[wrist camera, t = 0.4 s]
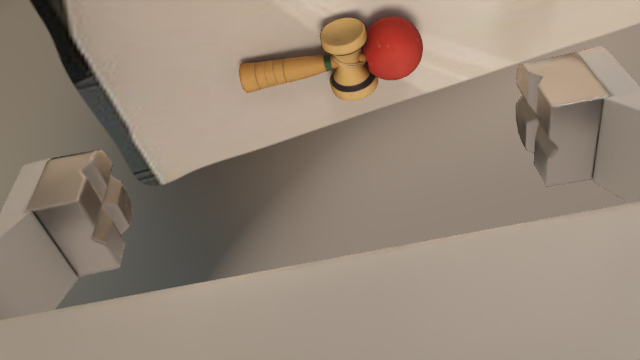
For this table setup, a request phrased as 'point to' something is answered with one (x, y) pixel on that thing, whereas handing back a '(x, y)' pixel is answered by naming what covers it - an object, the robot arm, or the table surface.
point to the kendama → (347, 58)
